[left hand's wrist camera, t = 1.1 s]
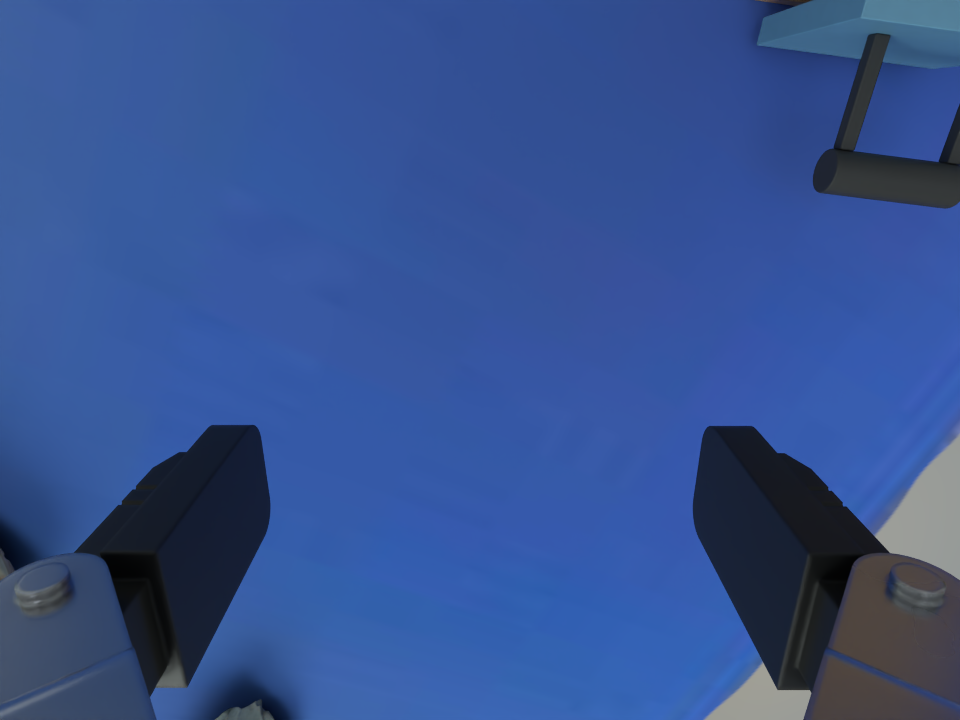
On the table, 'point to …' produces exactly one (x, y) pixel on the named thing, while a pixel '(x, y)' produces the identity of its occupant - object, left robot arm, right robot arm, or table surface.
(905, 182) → the drawer
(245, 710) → the stone
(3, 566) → the boat shoe
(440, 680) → the table surface
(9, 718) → the left robot arm
